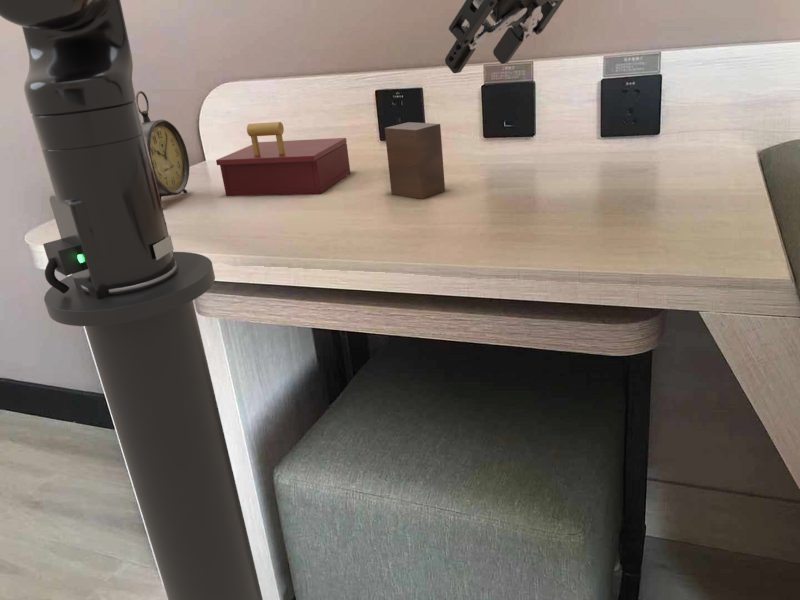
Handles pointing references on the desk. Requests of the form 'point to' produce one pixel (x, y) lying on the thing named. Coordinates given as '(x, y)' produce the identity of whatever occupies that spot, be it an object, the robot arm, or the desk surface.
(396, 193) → the bookend
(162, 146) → the alarm clock
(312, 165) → the box base
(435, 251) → the desk surface
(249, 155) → the box lid
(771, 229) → the desk surface
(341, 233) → the desk surface
